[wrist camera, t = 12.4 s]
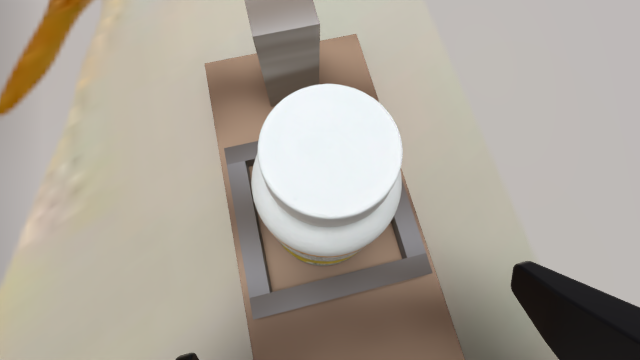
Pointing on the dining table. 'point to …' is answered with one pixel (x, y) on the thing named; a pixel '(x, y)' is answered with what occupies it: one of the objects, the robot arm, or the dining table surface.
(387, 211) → the supplement bottle
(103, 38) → the dining table surface
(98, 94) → the dining table surface
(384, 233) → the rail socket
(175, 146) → the dining table surface
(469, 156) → the dining table surface
